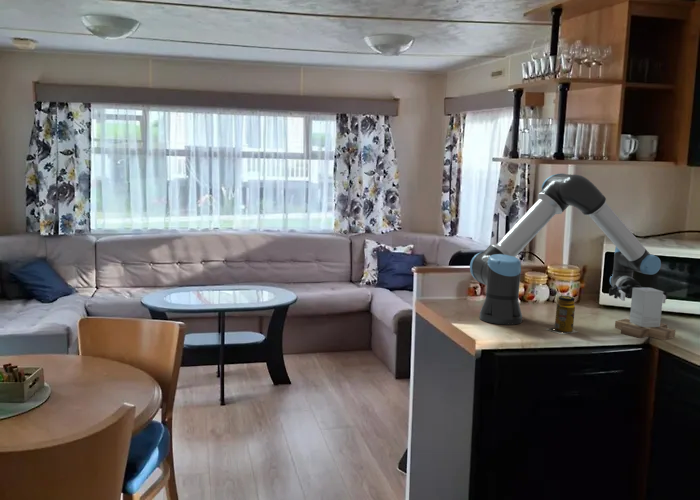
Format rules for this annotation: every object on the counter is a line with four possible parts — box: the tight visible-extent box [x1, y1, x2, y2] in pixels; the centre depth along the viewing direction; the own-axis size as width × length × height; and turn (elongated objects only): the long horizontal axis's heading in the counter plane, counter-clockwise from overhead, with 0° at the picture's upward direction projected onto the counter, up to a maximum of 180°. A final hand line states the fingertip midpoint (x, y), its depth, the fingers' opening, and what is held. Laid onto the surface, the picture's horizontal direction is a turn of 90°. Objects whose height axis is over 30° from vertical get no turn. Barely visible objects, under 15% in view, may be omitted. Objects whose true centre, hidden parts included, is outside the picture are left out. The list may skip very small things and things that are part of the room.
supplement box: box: [629, 287, 664, 327], centre depth 226 cm, size 7×7×13 cm
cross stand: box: [614, 318, 676, 341], centre depth 227 cm, size 18×18×3 cm
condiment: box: [546, 295, 579, 335], centre depth 224 cm, size 7×8×12 cm
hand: (644, 298), depth 230 cm, fingers open, 13 cm apart
